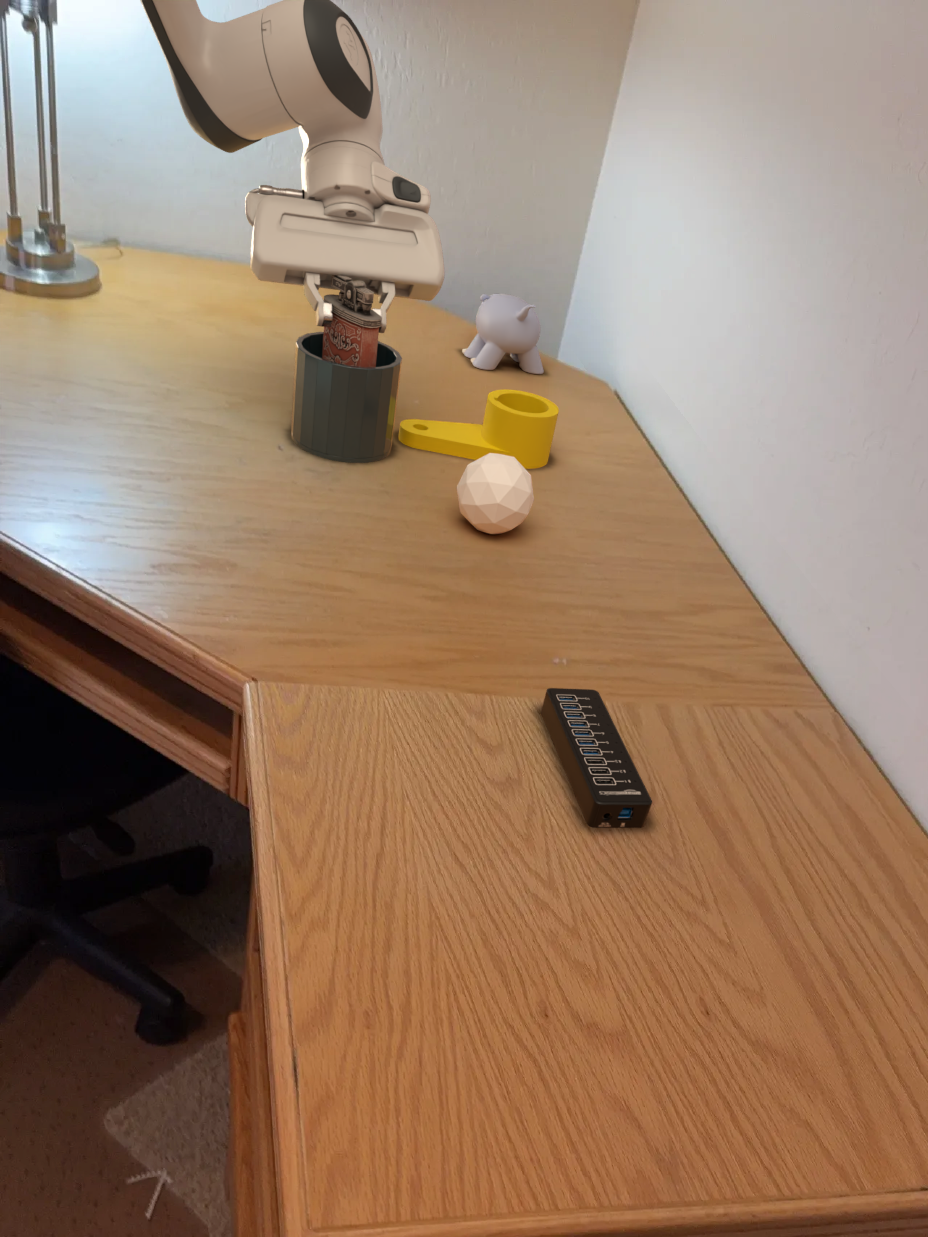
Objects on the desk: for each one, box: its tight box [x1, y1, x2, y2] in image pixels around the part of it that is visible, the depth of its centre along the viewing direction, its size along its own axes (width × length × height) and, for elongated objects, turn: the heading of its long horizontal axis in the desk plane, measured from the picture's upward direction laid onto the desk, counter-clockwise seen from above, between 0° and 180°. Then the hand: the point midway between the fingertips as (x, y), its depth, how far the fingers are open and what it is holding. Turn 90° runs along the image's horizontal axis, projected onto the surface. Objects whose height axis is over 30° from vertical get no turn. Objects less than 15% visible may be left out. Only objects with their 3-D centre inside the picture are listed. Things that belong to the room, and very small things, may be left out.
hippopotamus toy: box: [461, 293, 545, 375], centre depth 149 cm, size 11×15×10 cm
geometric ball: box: [455, 453, 535, 535], centre depth 107 cm, size 8×8×8 cm
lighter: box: [322, 275, 382, 367], centre depth 112 cm, size 8×3×10 cm, turn 43°
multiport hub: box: [540, 687, 653, 829], centre depth 80 cm, size 4×14×2 cm, turn 12°
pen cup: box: [290, 331, 403, 464], centre depth 116 cm, size 11×11×10 cm
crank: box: [397, 388, 560, 470], centre depth 123 cm, size 18×8×6 cm, turn 97°
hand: (352, 326), depth 111 cm, fingers closed on lighter, 4 cm apart
